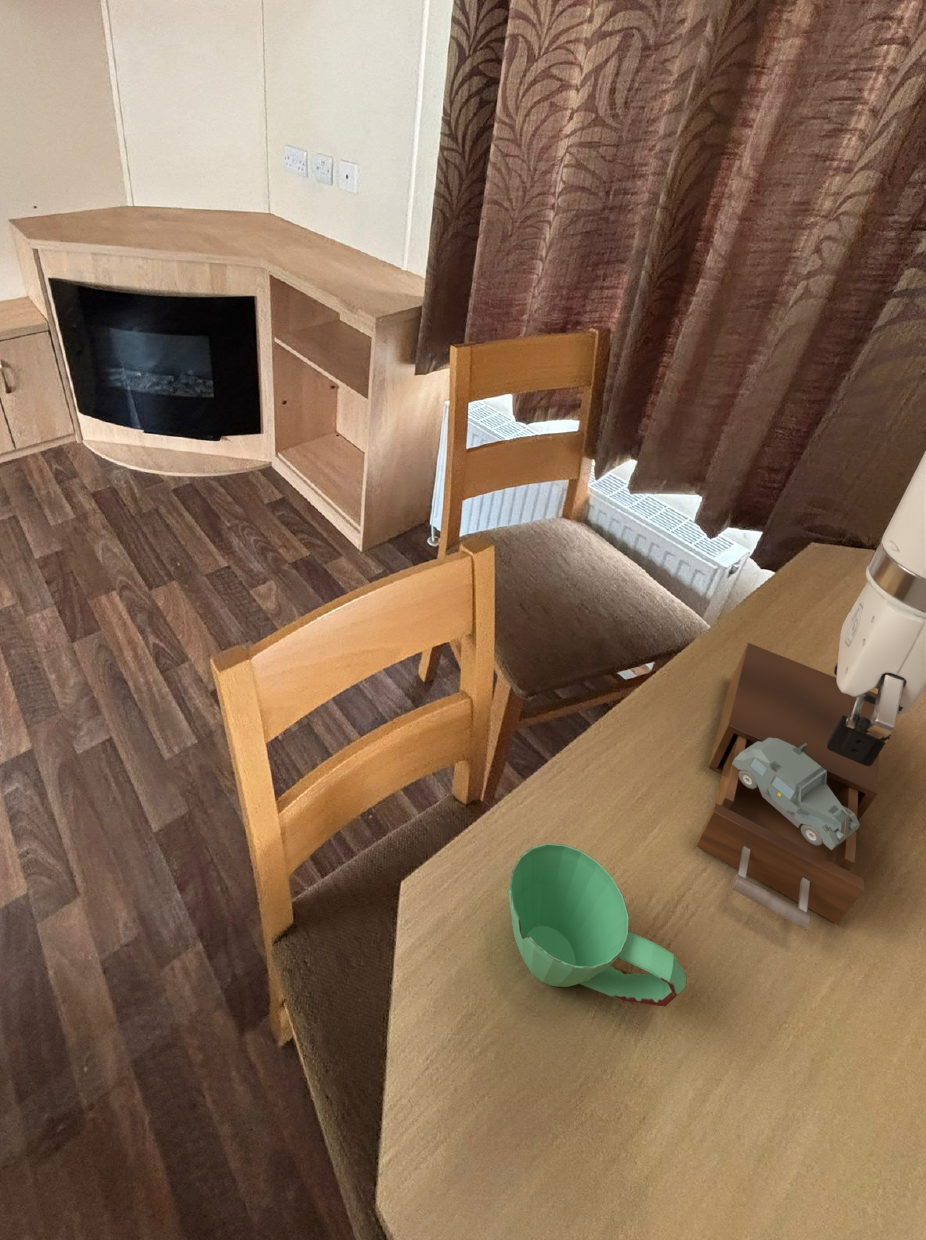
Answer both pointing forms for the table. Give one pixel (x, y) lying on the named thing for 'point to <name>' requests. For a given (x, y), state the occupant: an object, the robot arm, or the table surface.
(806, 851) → the drawer
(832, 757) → the cabinet
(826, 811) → the toy car
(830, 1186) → the table surface
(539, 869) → the mug
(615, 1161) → the table surface
